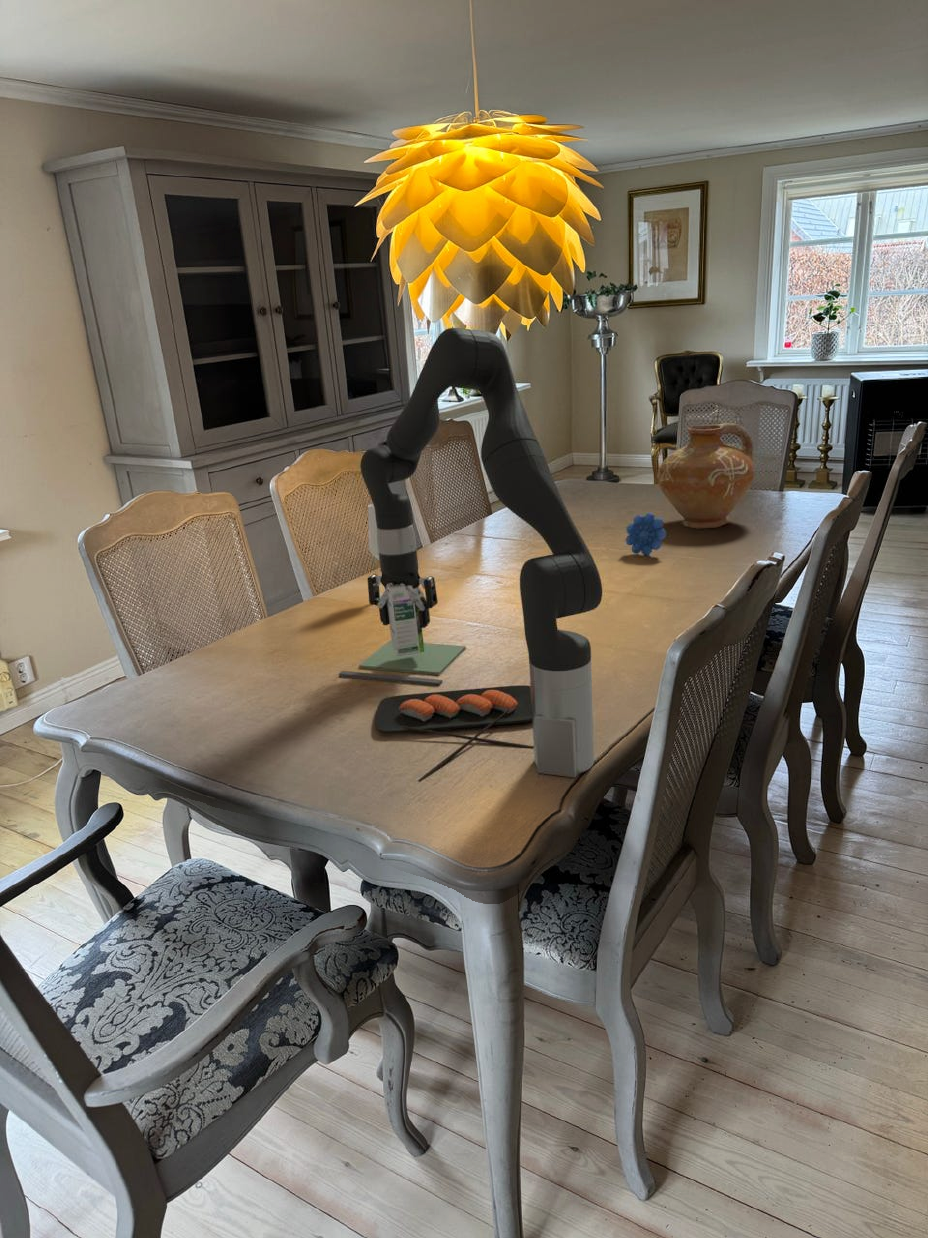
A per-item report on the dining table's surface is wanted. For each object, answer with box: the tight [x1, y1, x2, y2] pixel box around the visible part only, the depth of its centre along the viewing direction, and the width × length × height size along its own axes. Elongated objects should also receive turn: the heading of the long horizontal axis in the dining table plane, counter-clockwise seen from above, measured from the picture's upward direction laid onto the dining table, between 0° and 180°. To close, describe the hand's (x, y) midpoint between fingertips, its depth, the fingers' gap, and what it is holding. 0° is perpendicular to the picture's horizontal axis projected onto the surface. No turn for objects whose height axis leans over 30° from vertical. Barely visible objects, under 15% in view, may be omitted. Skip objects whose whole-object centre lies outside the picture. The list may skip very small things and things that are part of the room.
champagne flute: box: [367, 503, 385, 598], centre depth 215 cm, size 7×7×24 cm
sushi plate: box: [374, 685, 534, 783], centre depth 145 cm, size 29×30×4 cm
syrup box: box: [384, 584, 425, 657], centre depth 174 cm, size 6×6×14 cm
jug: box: [656, 422, 755, 530], centre depth 258 cm, size 28×28×30 cm
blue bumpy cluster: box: [625, 512, 667, 556], centre depth 235 cm, size 12×7×12 cm, turn 56°
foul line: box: [338, 670, 443, 687], centre depth 169 cm, size 2×22×1 cm, turn 68°
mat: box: [358, 640, 467, 676], centre depth 179 cm, size 14×18×1 cm
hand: (405, 625), depth 174 cm, fingers closed on syrup box, 8 cm apart
